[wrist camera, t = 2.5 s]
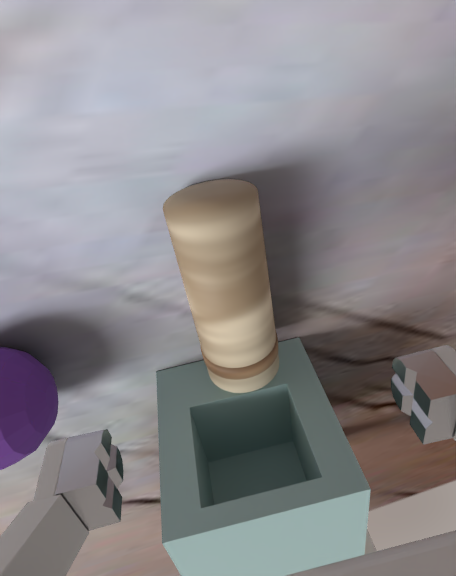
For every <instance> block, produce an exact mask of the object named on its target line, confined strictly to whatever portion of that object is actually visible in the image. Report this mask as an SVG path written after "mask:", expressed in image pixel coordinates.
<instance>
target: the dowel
mask: <svg viewBox="0 0 456 576" xmlns="http://www.w3.org/2000/svg"><path fill="white" fill-rule="evenodd" d="M163 212H164V215H165V219H166V222H167V226H168V229H169V233H170V237H171V240H172V244H173V247H174V251H175V255H176V258H177V262H178V265H179V269H180V272H181V276H182V280H183V283H184V287H185V290H186V294H187V298H188V301H189V305H190V308H191V312H192V316H193V319H194V323H195V326H196V330H197V333H198V337H199V341H200V344H201V351H202V355H203V358H204V362H205V364H206V366H207V369H208V373H209V376H210V378H211V380H212V382H213V383H214V384H215V385H216V386H218V387H219V388H221V389H223V390H225V391H228V392H233V393H247V392H251V391H255V390H258V389H260V388H262V387H264V386H265V385H267V384H268V383H269V382H270V381H271V380H272V379H273V378H274V377H275V375H276V374H277V372H278V369H279V355H278V339H277V333H276V330H275V323H274V315H273V307H272V299H271V291H270V283H269V276H268V268H267V260H266V252H265V244H264V236H263V228H262V220H261V212H260V204H259V196H258V190H257V188H256V187H255V186H254V185H253V184H251V183H249V182H247V181H243V180H236V179H220V180H212V181H206V182H202V183H198V184H195V185H192V186H189V187H186V188H184V189H182V190H180V191H178V192H176V193H175V194H173V195H172V196H170V197H169V198H168V199H167V200H166V201H165V203H164V205H163Z"/></svg>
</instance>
